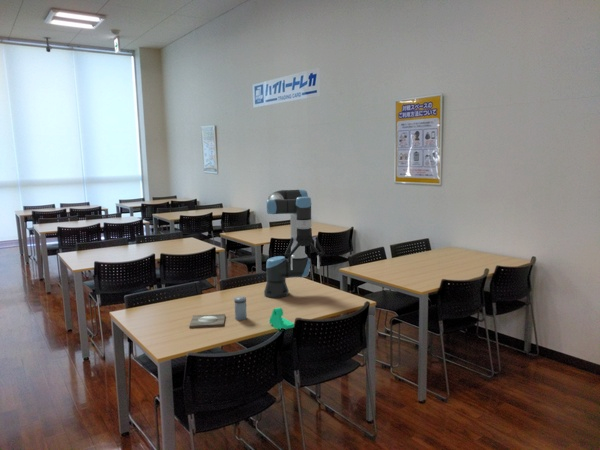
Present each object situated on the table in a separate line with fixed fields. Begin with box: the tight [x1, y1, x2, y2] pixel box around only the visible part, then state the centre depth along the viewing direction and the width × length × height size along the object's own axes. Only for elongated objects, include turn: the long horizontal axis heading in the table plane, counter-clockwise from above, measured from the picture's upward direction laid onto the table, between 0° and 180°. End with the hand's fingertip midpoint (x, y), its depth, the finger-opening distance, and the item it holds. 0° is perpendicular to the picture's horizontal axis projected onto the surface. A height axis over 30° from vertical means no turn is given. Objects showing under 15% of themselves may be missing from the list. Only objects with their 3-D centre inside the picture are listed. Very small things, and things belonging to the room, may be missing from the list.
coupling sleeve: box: [234, 296, 248, 321], centre depth 242 cm, size 6×6×11 cm
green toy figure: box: [269, 307, 295, 330], centre depth 229 cm, size 12×8×10 cm, turn 34°
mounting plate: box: [188, 313, 226, 329], centre depth 238 cm, size 15×17×1 cm
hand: (305, 268), depth 233 cm, fingers open, 13 cm apart
